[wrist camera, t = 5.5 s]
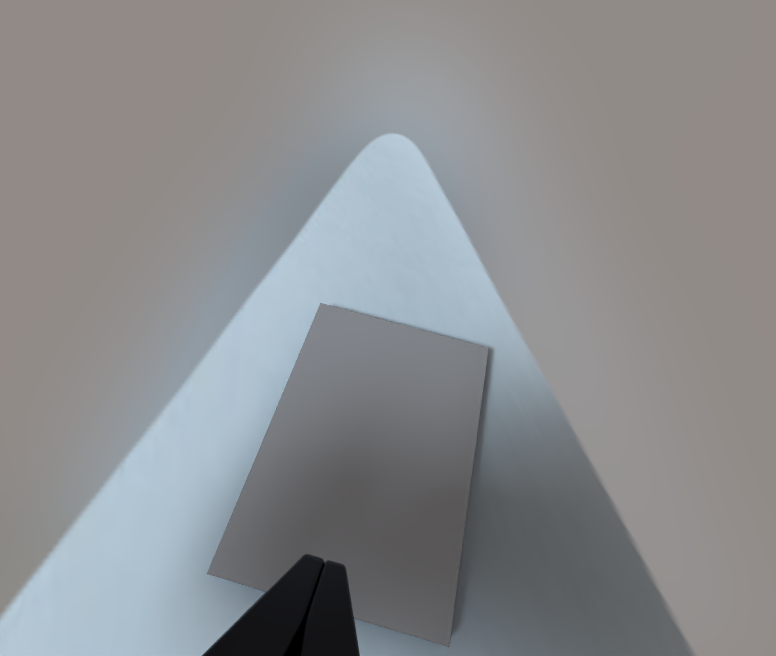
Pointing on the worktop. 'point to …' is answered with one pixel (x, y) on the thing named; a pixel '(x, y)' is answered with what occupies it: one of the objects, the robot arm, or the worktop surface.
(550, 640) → the worktop surface
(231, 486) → the worktop surface
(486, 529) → the worktop surface
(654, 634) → the worktop surface
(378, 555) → the tile
